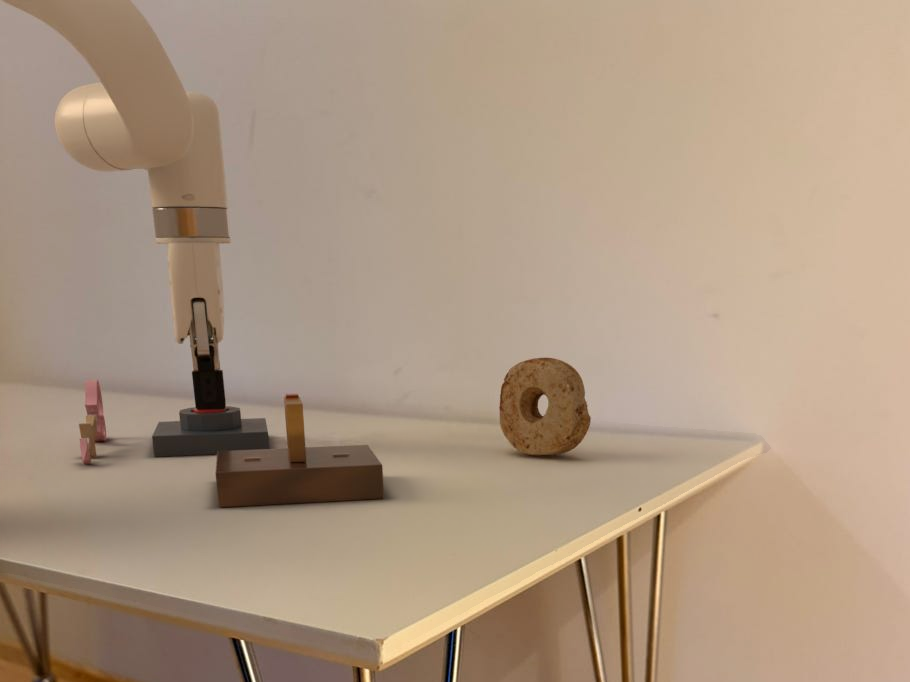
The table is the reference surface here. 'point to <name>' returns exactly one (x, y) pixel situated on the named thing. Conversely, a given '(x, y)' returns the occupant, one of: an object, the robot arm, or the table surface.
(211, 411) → the button
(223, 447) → the confirm box
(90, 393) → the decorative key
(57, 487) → the table surface
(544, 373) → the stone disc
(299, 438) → the thumbturn
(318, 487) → the plate
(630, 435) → the table surface
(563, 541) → the table surface
